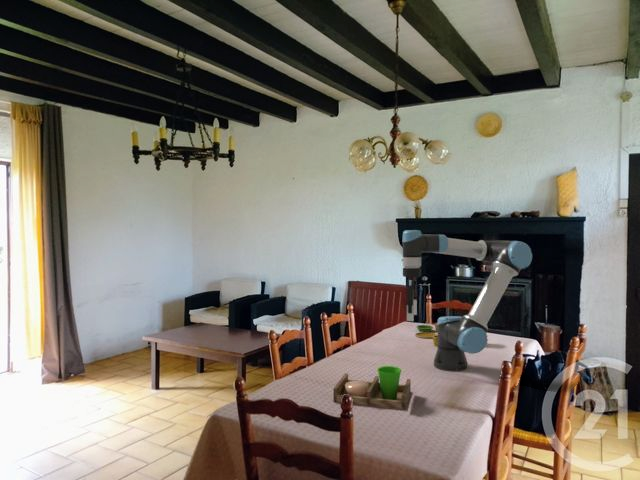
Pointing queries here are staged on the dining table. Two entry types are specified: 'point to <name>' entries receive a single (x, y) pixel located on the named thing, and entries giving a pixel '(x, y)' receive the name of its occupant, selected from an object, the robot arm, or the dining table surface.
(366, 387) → the egg
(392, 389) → the cup
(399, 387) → the rack
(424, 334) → the tableware set
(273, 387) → the dining table surface
